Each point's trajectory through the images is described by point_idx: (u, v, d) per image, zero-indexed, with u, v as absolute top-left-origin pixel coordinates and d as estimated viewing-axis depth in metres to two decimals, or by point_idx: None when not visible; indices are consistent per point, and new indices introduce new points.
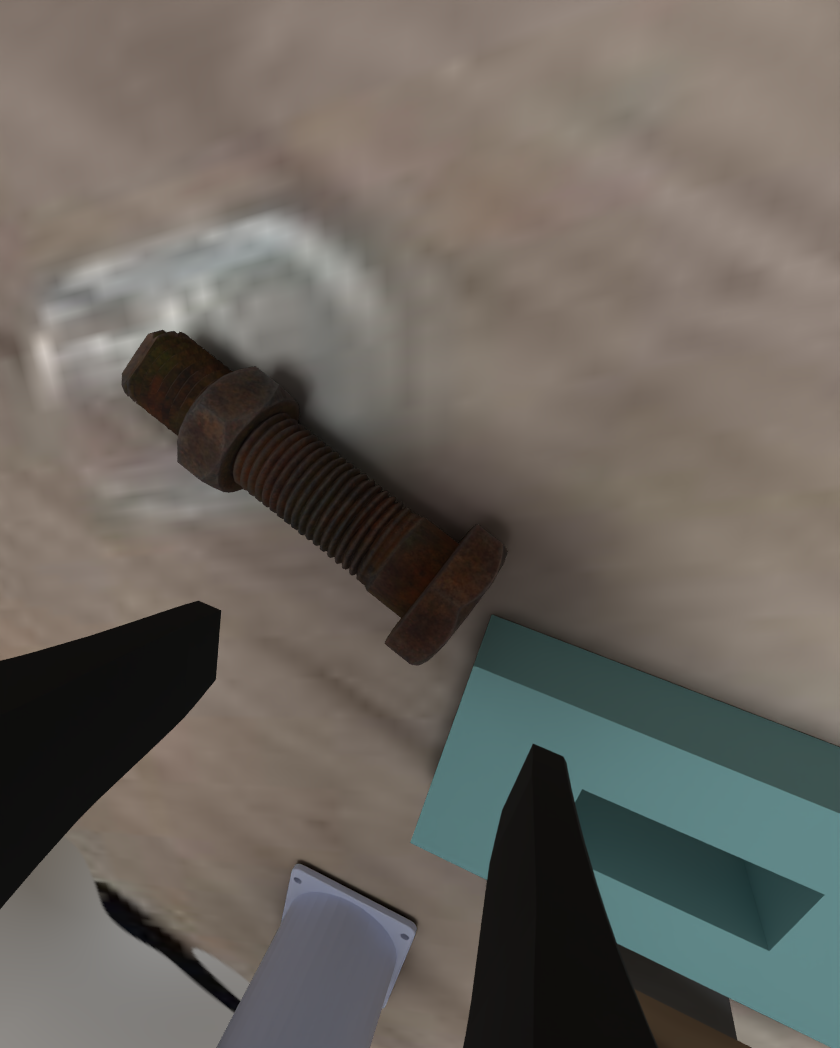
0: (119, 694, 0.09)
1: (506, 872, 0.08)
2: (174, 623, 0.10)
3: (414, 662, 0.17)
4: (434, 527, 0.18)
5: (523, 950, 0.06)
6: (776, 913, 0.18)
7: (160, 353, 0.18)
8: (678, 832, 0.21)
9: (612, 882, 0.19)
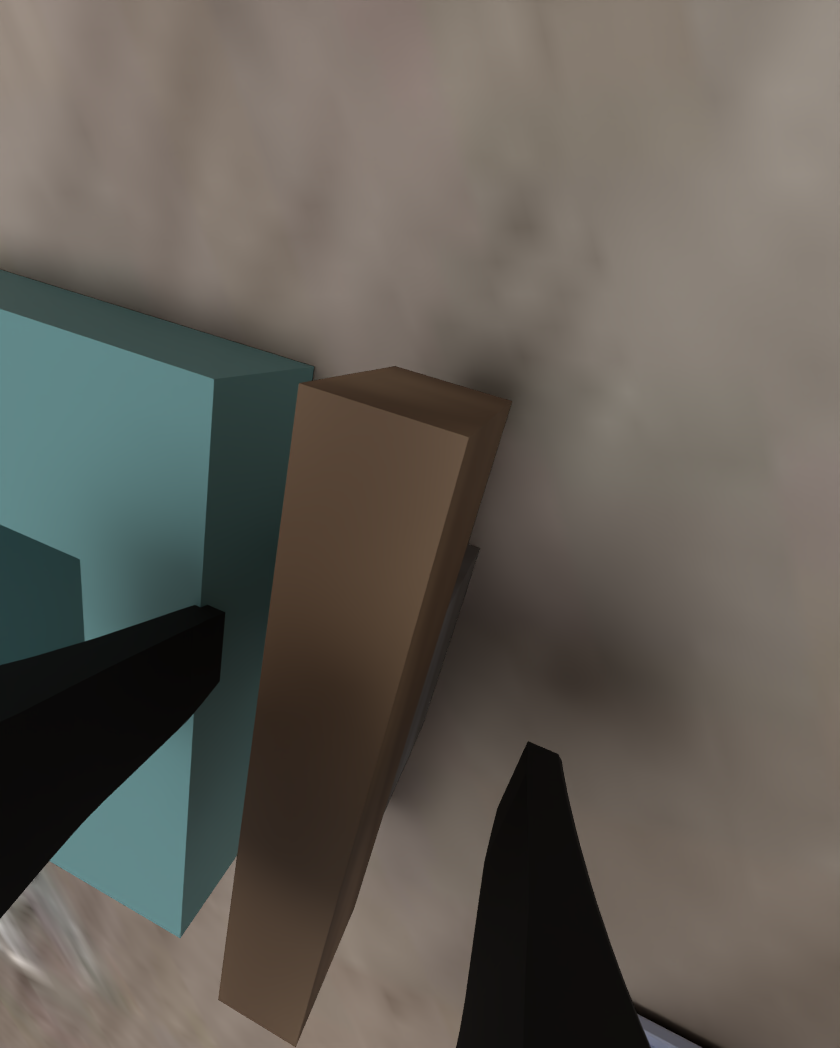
0: (124, 696, 0.09)
1: (500, 869, 0.08)
2: (179, 625, 0.10)
3: None
4: None
5: (515, 946, 0.06)
6: None
7: None
8: None
9: None
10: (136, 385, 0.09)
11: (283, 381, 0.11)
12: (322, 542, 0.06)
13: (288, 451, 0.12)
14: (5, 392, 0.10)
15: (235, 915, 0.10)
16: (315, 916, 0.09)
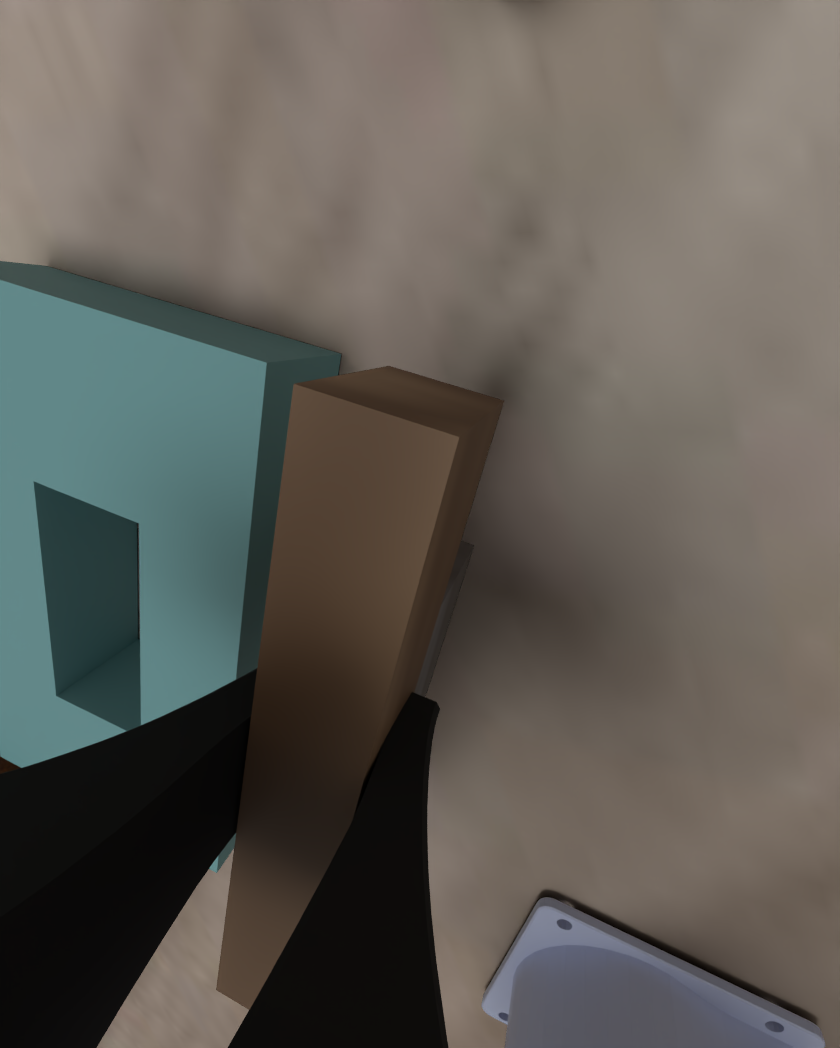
0: (243, 754, 0.08)
1: None
2: None
3: None
4: None
5: None
6: None
7: None
8: None
9: (145, 682, 0.15)
10: (197, 368, 0.11)
11: (317, 366, 0.13)
12: (317, 539, 0.06)
13: None
14: (77, 376, 0.12)
15: (232, 906, 0.10)
16: None
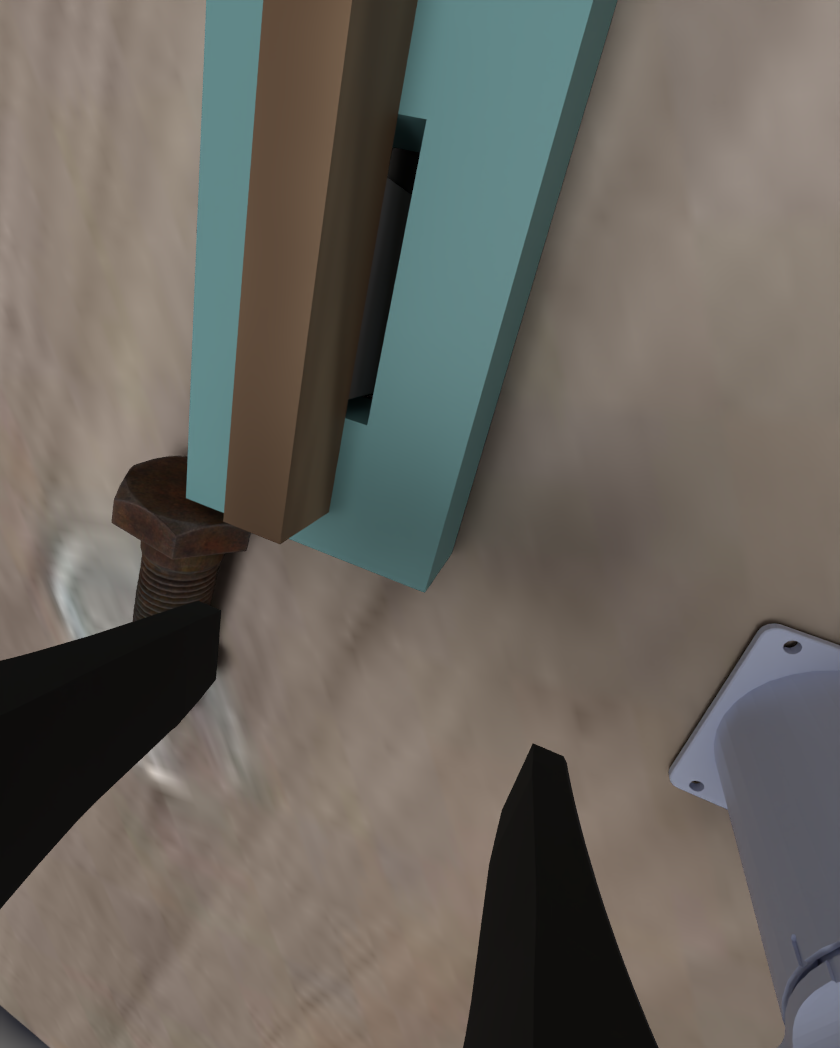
0: (119, 694, 0.09)
1: (506, 872, 0.08)
2: (174, 623, 0.10)
3: (174, 533, 0.19)
4: None
5: (523, 950, 0.06)
6: (402, 123, 0.14)
7: None
8: None
9: (388, 345, 0.15)
10: None
11: None
12: None
13: (601, 41, 0.13)
14: None
15: (236, 408, 0.14)
16: (291, 376, 0.13)
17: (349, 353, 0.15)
